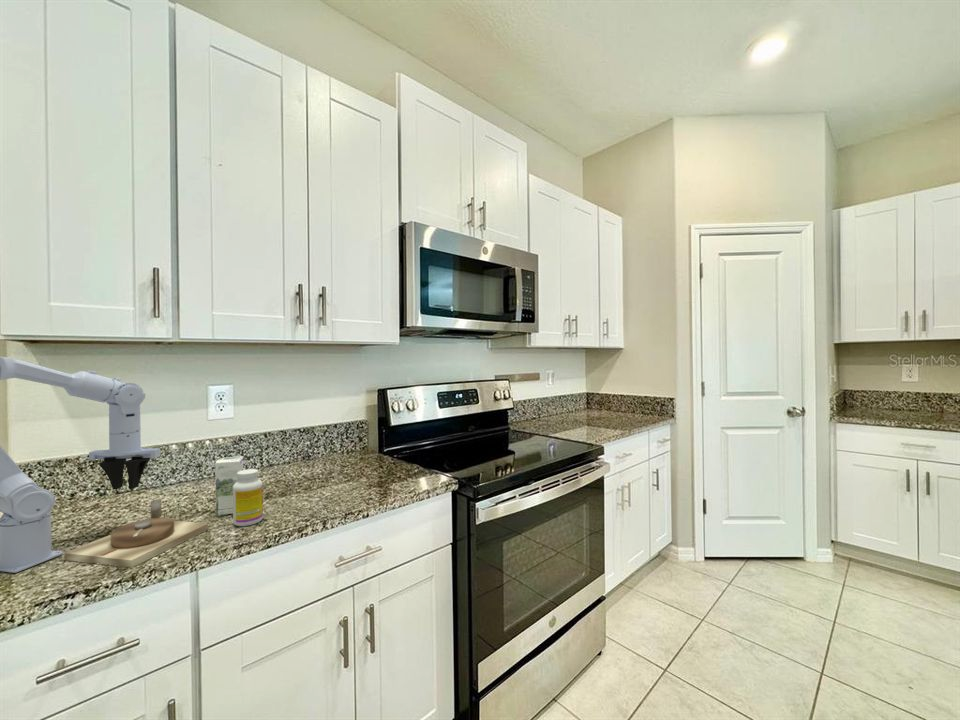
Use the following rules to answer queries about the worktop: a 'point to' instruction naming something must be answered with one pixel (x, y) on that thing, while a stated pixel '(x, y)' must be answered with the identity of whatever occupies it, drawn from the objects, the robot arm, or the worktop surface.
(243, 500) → the supplement bottle
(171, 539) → the wooden cutting board
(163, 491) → the worktop surface
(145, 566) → the worktop surface
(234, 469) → the syrup box
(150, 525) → the crank dial
